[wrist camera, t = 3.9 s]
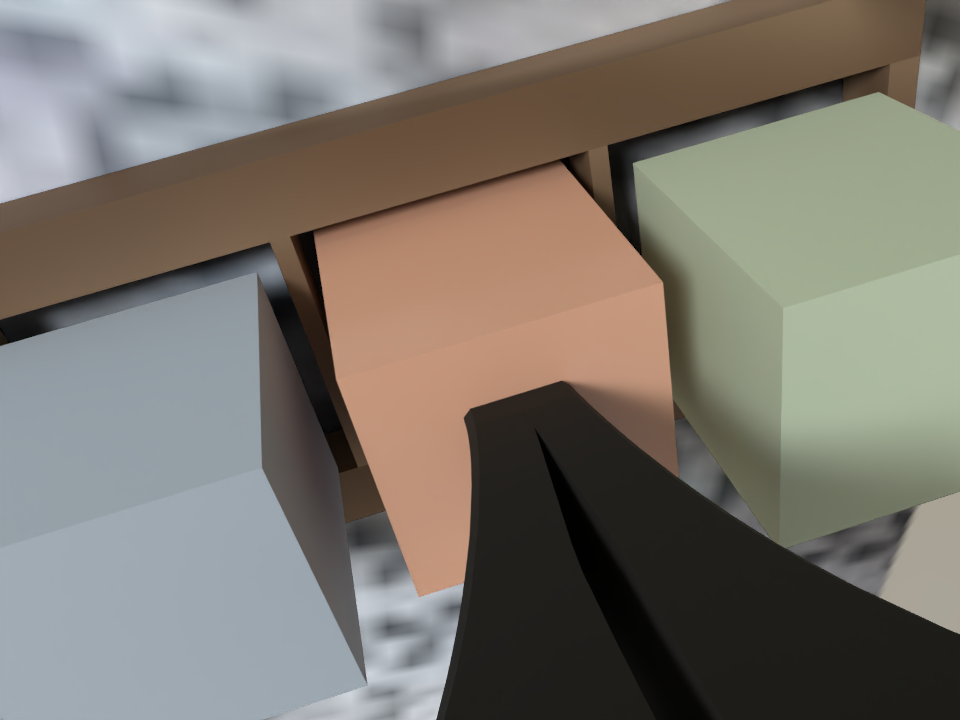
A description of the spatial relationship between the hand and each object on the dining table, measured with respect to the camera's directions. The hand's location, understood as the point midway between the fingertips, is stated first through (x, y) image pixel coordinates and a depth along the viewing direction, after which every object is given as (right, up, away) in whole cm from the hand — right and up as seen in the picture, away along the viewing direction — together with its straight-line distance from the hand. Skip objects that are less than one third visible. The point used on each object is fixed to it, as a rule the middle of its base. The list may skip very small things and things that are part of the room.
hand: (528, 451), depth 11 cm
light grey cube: (-5, 0, +2) cm, 6 cm away
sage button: (+4, +3, +3) cm, 6 cm away
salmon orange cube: (-1, +2, +3) cm, 4 cm away
